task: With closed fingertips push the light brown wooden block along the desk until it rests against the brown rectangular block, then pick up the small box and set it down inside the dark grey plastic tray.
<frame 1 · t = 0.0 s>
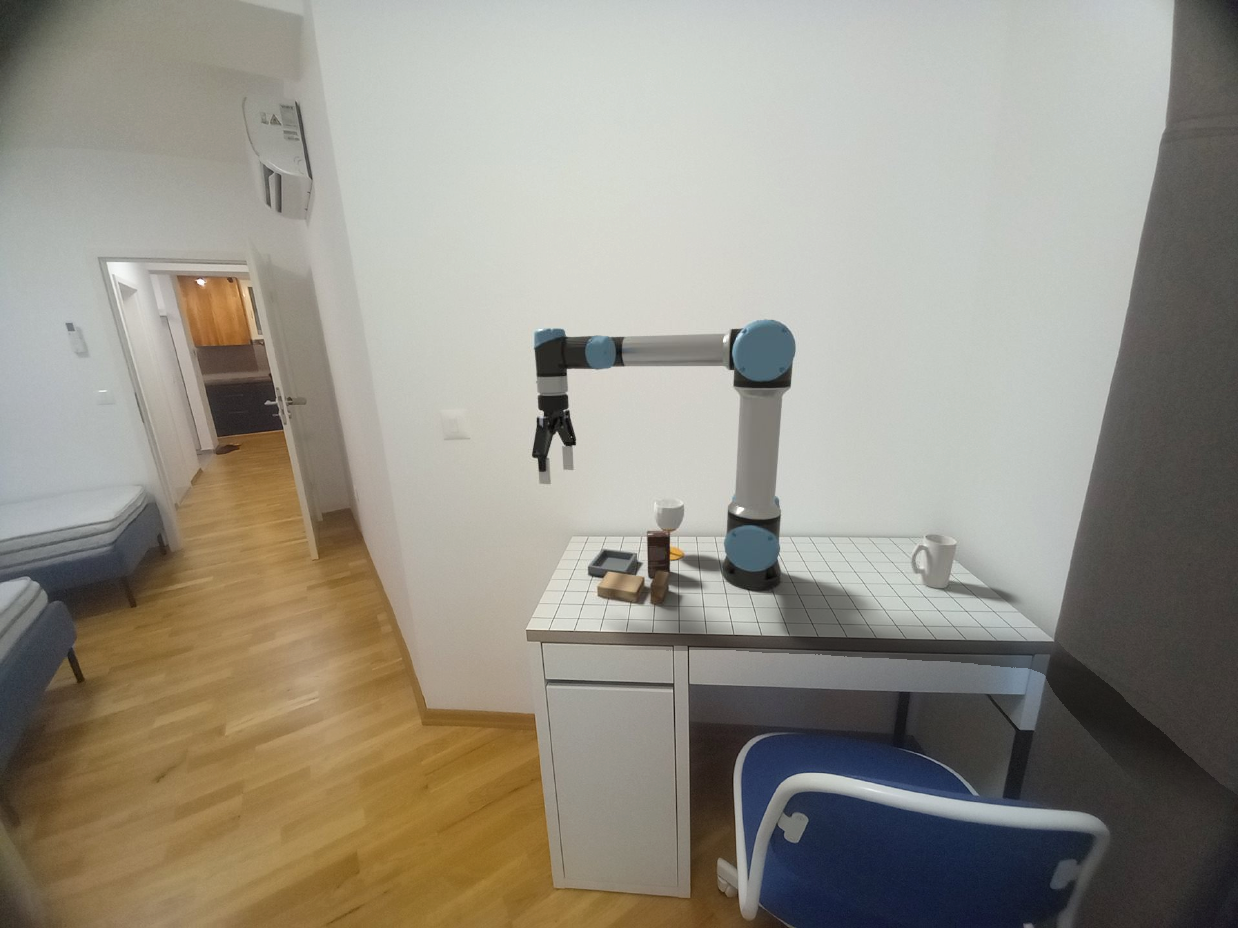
hand: (557, 476, 116), 28 cm above the table, fingers open, 13 cm apart
light brown wooden block: (621, 592, 114), on the table
tray: (613, 567, 126), on the table
mug: (926, 583, 115), on the table
cup: (668, 554, 134), on the table
brown rectangular block: (659, 596, 111), on the table
box: (658, 574, 122), on the table
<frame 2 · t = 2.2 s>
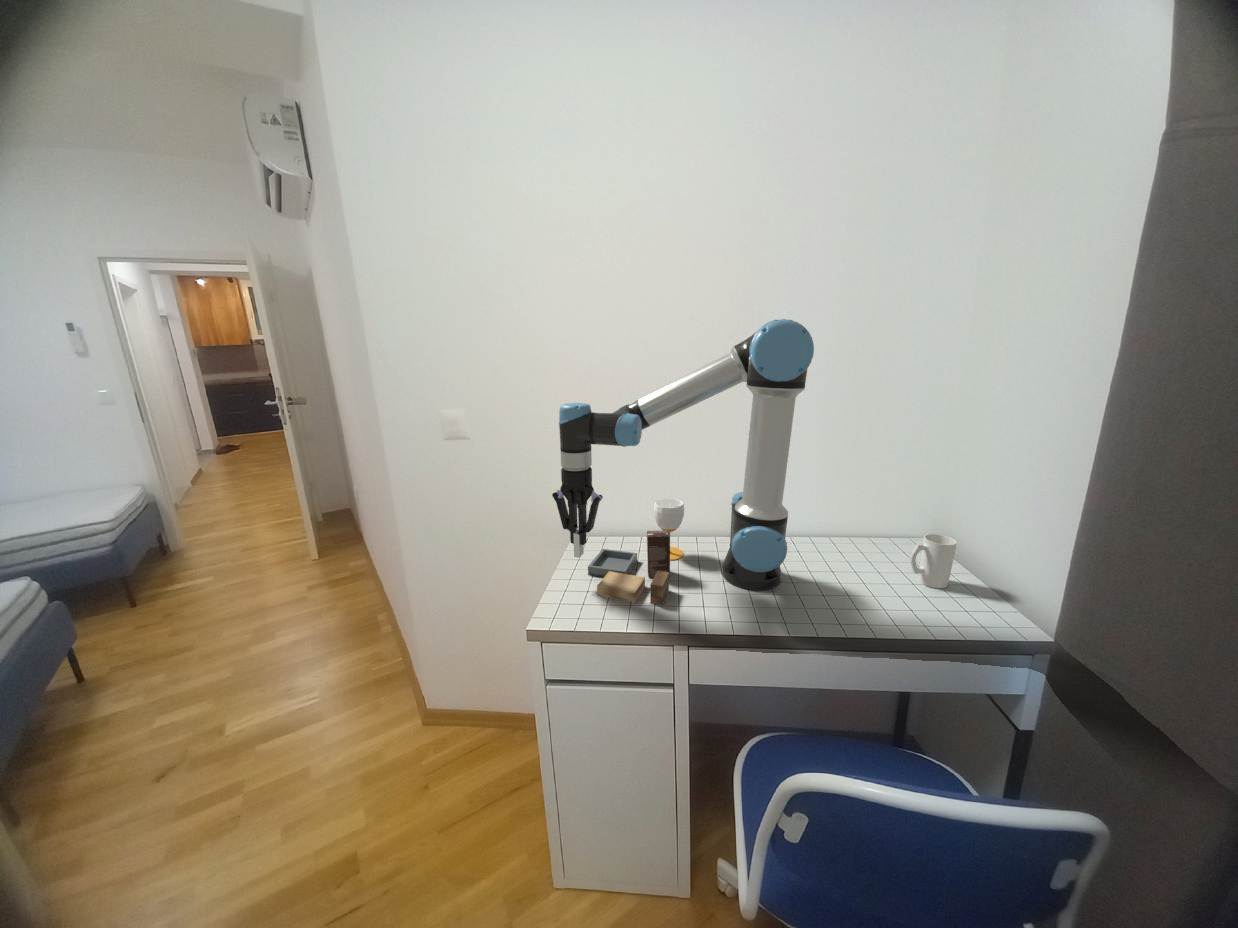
hand: (578, 555, 115), 8 cm above the table, fingers closed
nothing on the table moved.
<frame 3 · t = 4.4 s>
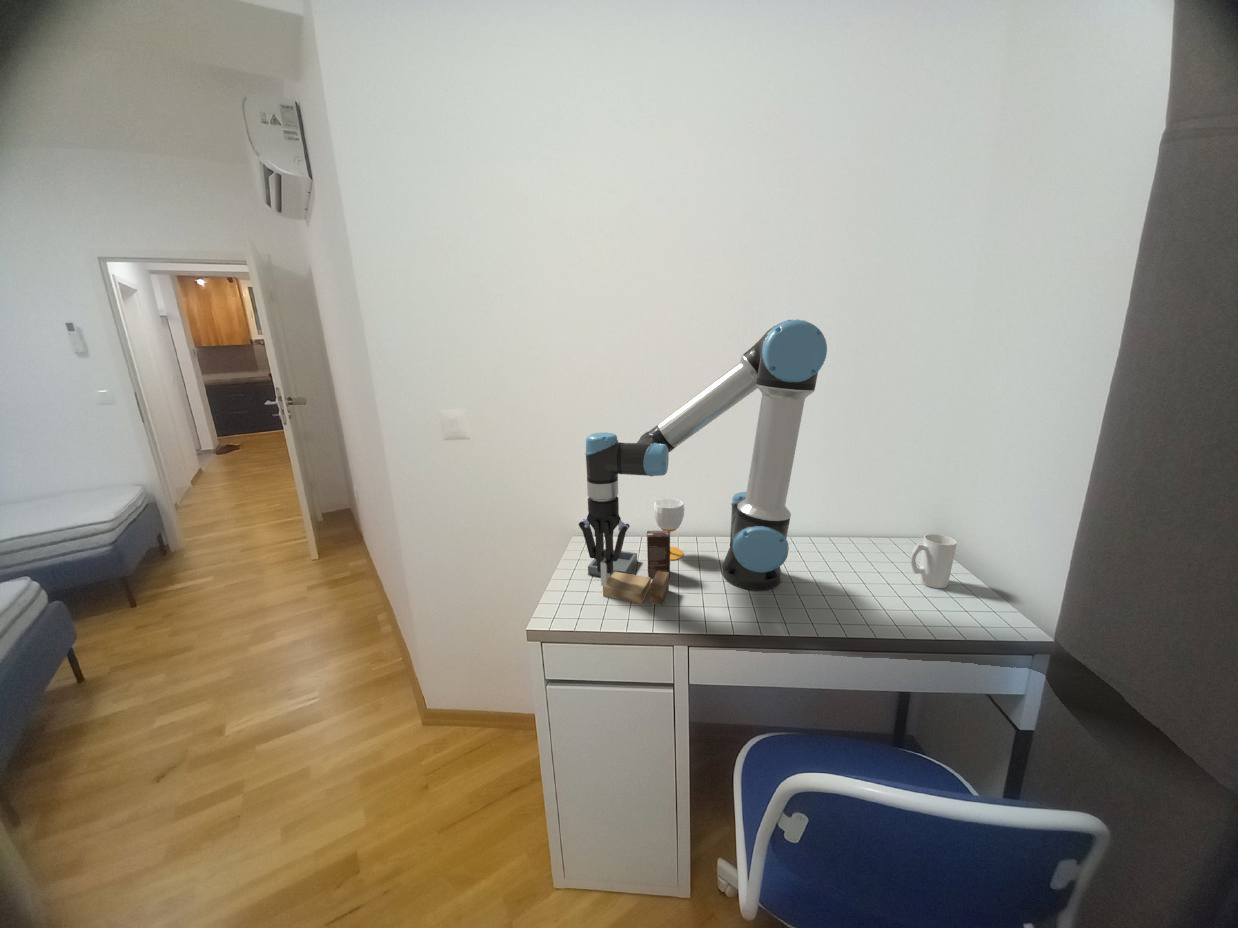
hand: (605, 583, 115), 1 cm above the table, fingers closed
light brown wooden block: (627, 592, 113), on the table, touching gripper
everything else where it was.
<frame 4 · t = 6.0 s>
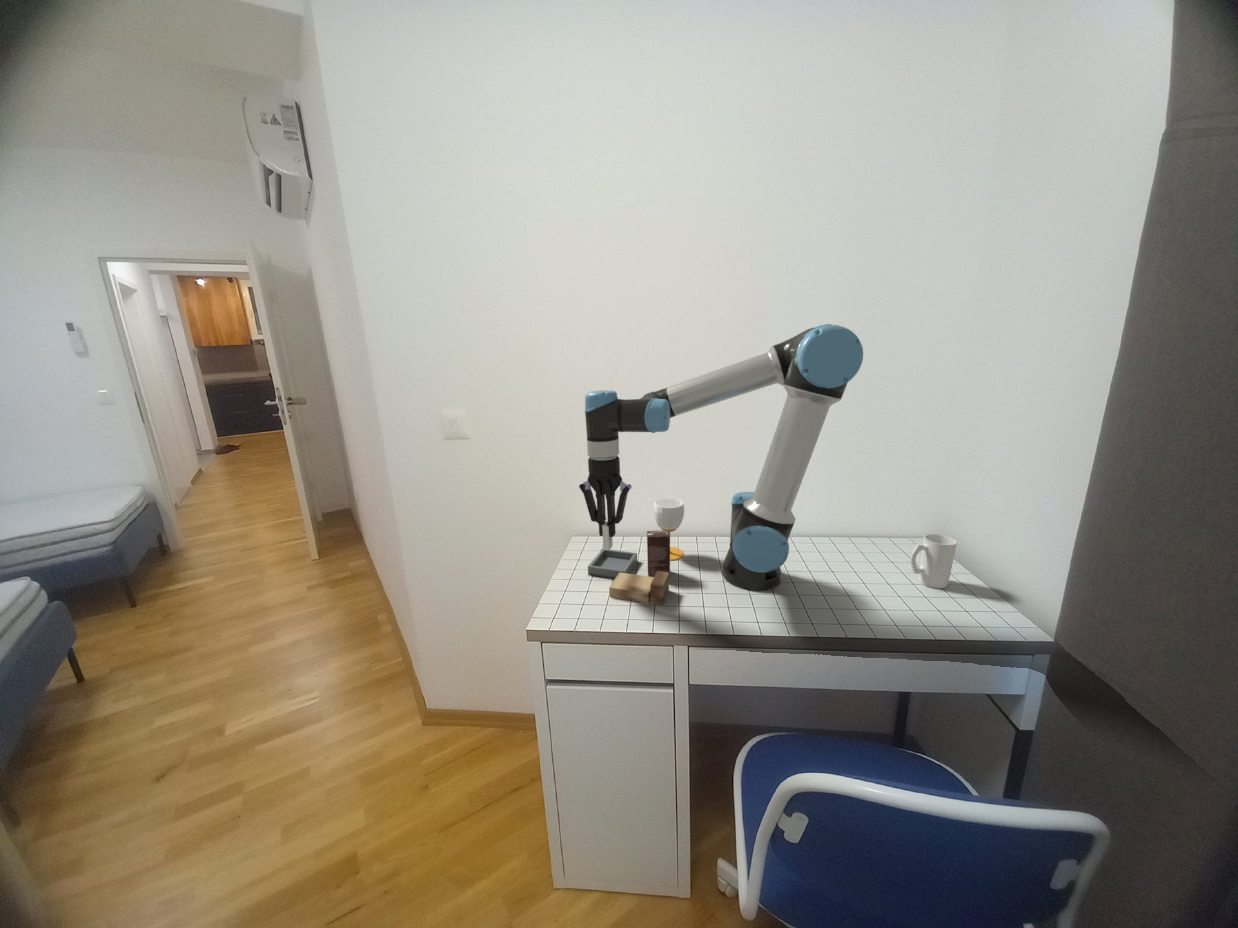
hand: (608, 547, 112), 11 cm above the table, fingers closed
light brown wooden block: (633, 593, 113), on the table
everything else where it was.
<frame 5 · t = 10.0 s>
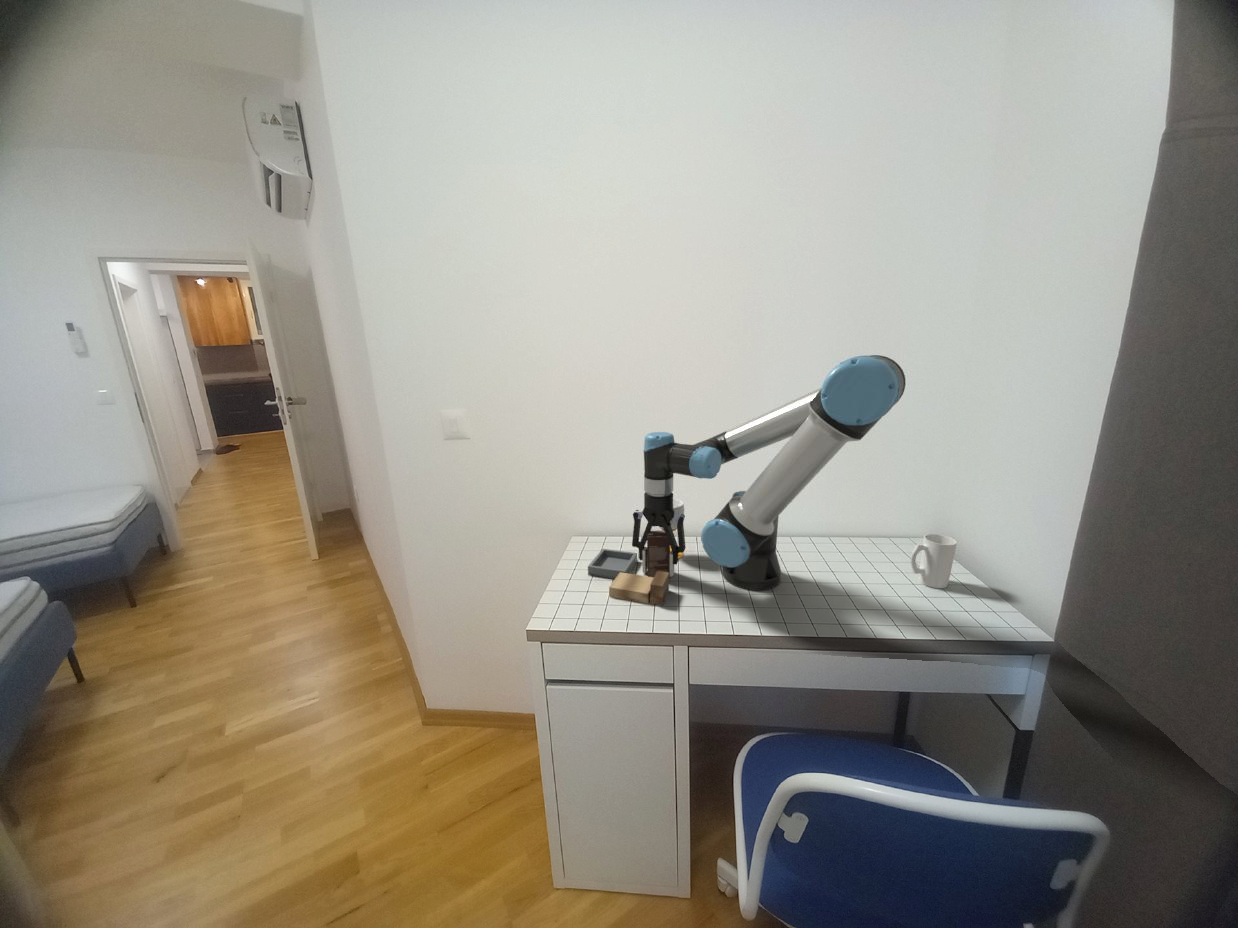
hand: (658, 572, 122), 1 cm above the table, fingers closed on box, 7 cm apart
box: (658, 574, 122), on the table, touching gripper
everything else where it was.
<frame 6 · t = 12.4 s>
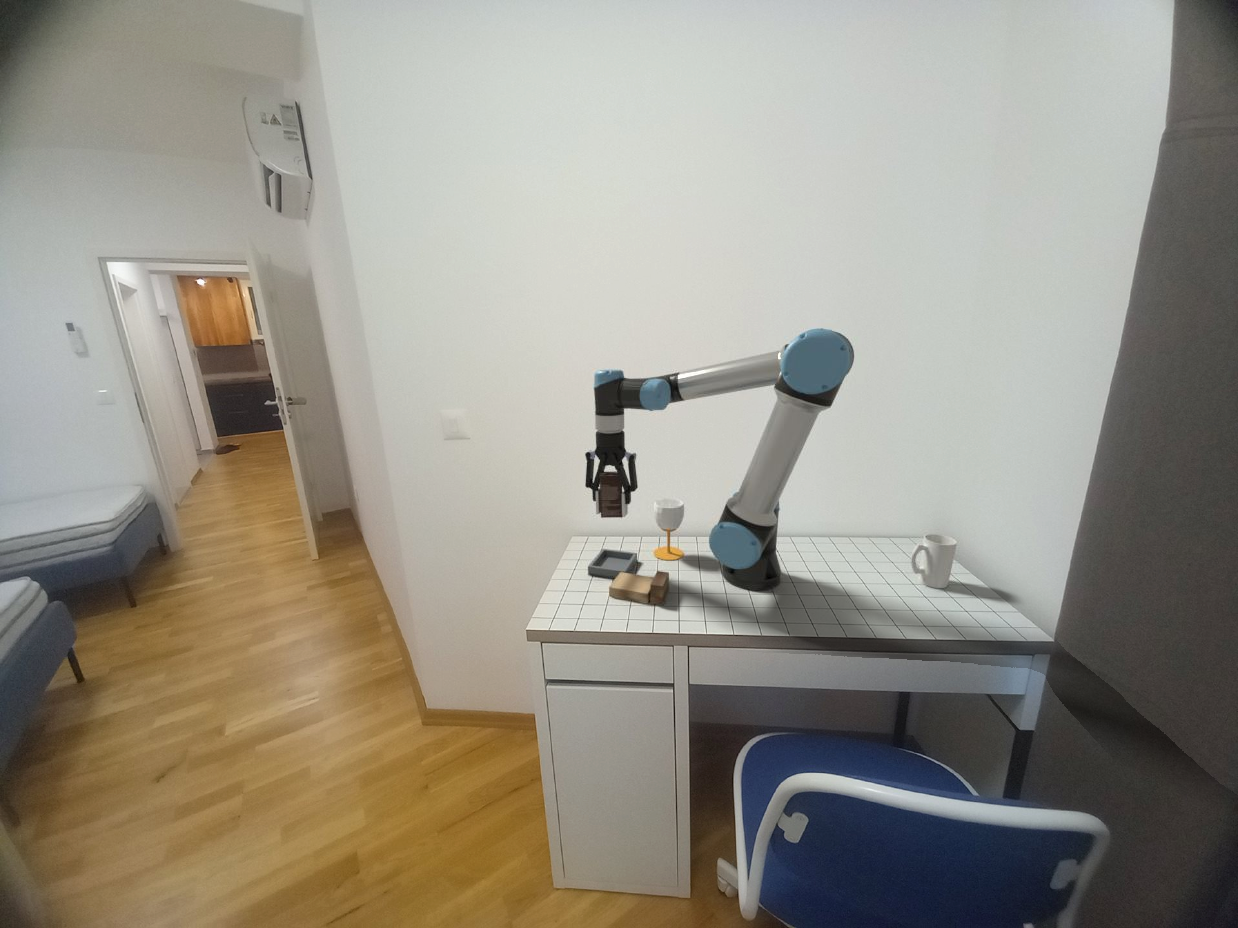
hand: (612, 513, 122), 16 cm above the table, fingers closed on box, 7 cm apart
box: (611, 515, 122), point 15 cm above the table, touching gripper
everything else where it was.
when the fingers open (3 cm above the table, at t = 15.0 s): box drops 2 cm, resting on tray.
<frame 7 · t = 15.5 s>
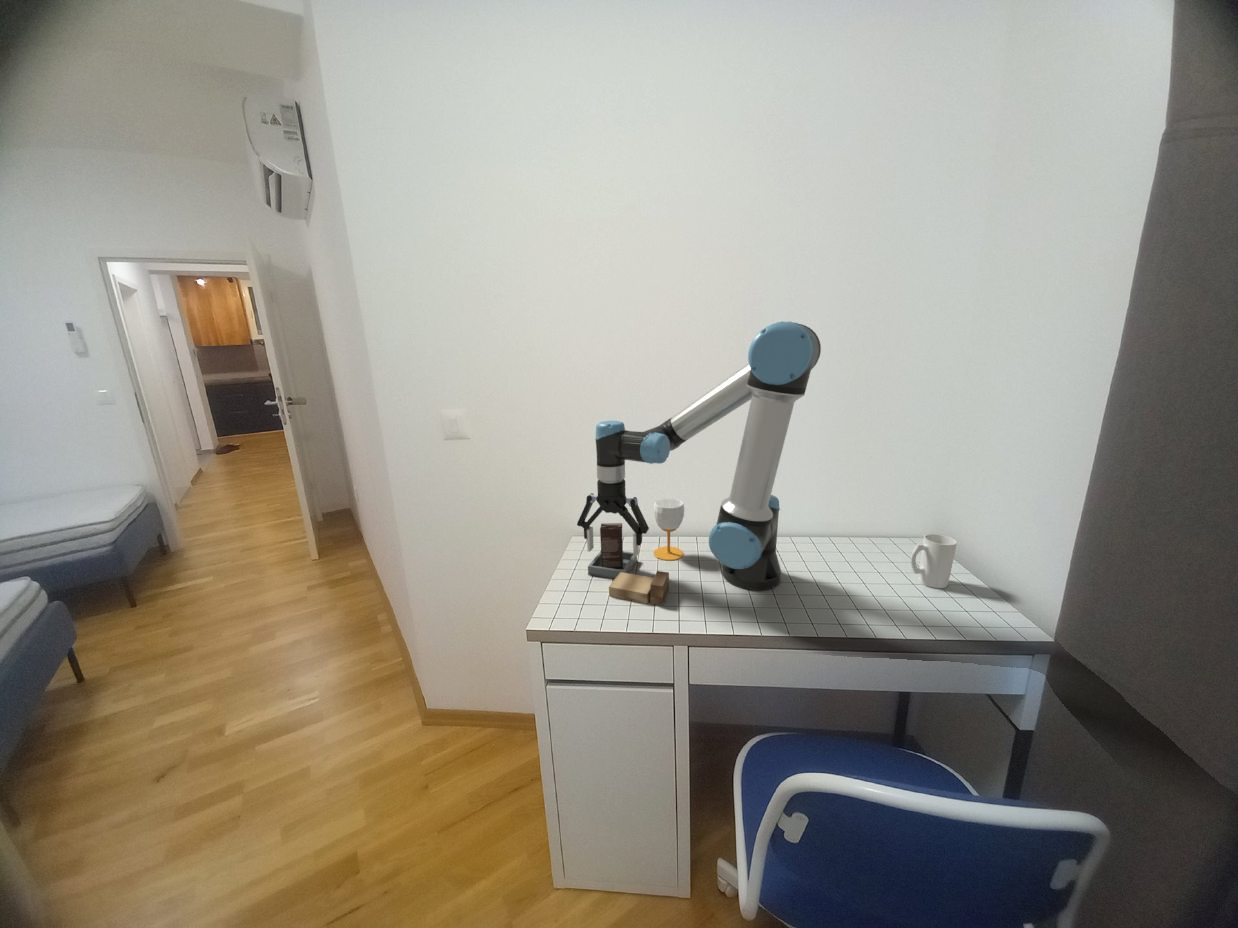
hand: (613, 552, 125), 5 cm above the table, fingers open, 13 cm apart
box: (612, 566, 126), resting on tray
everything else where it was.
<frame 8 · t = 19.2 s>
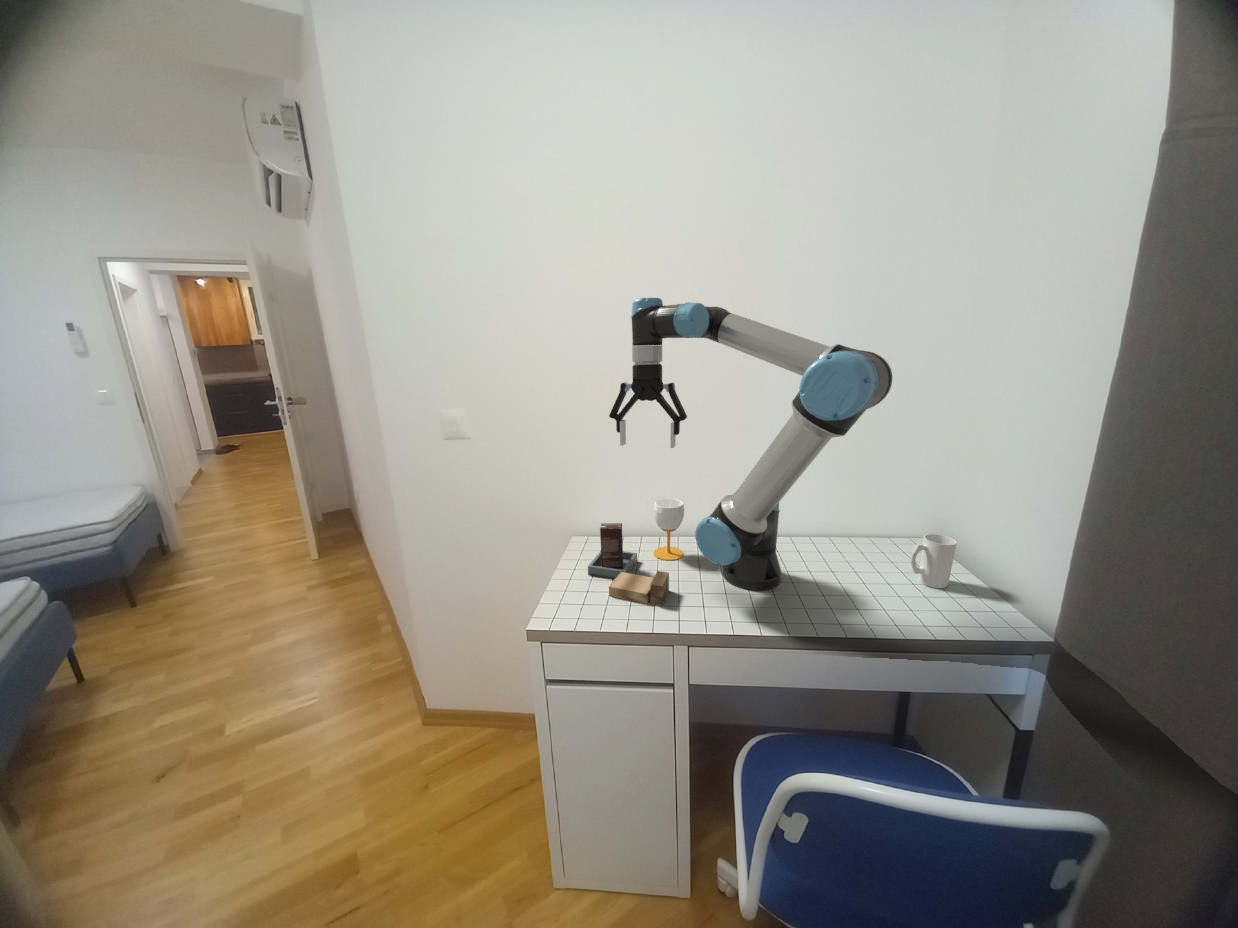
hand: (647, 445, 118), 35 cm above the table, fingers open, 13 cm apart
nothing on the table moved.
at the end: light brown wooden block 0.5 cm from the target spot, on the table; box inside the target area on the tray (0.3 cm from its centre), point 0.4 cm above the tray's base; box tilted 0° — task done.
